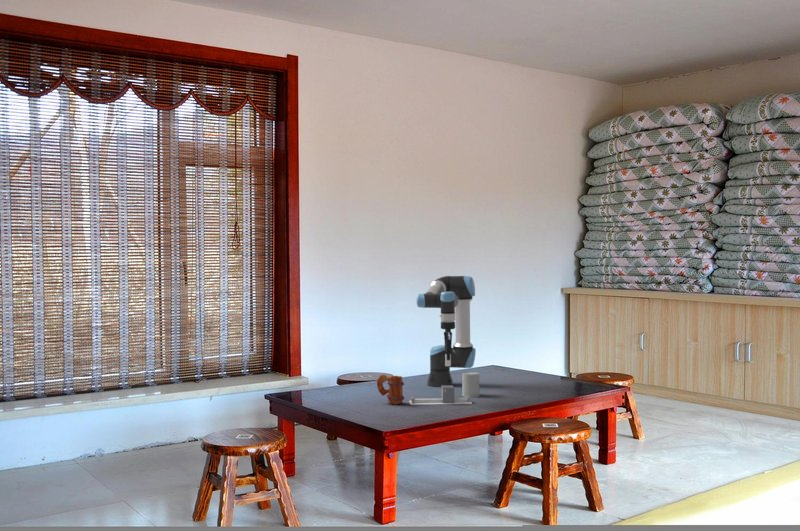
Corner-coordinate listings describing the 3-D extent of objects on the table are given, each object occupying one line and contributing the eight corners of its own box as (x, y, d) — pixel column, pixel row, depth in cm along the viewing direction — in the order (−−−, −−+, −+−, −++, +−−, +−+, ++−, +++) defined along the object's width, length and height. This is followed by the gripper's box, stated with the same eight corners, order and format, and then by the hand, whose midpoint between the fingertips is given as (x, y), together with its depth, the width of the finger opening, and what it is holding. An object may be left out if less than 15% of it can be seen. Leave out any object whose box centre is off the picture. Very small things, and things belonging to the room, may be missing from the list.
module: (441, 400, 410) (441, 385, 410) (452, 400, 410) (452, 385, 410) (443, 403, 403) (443, 387, 403) (454, 403, 403) (454, 387, 403)
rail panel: (409, 401, 410) (409, 396, 410) (469, 400, 412) (469, 395, 412) (410, 404, 401) (410, 399, 401) (472, 403, 403) (472, 398, 403)
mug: (406, 402, 407) (406, 374, 406) (402, 405, 399) (402, 376, 399) (380, 401, 411) (379, 372, 411) (375, 404, 403) (375, 375, 403)
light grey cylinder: (475, 393, 432) (475, 371, 432) (482, 396, 423) (482, 374, 423) (459, 394, 429) (459, 372, 429) (466, 397, 420) (466, 375, 420)
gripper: (439, 319, 412) (439, 364, 413) (442, 322, 399) (442, 368, 400) (453, 319, 412) (453, 363, 413) (456, 322, 399) (456, 368, 400)
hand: (448, 365), depth 406 cm, fingers closed
